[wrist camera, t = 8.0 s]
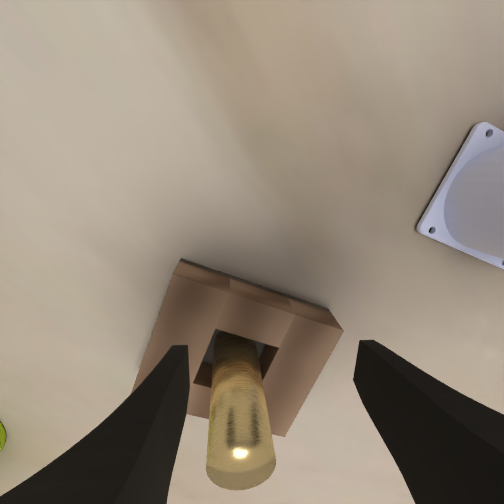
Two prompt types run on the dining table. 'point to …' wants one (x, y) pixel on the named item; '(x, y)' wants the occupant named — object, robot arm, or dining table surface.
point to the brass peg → (238, 417)
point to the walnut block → (245, 325)
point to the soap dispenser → (2, 436)
